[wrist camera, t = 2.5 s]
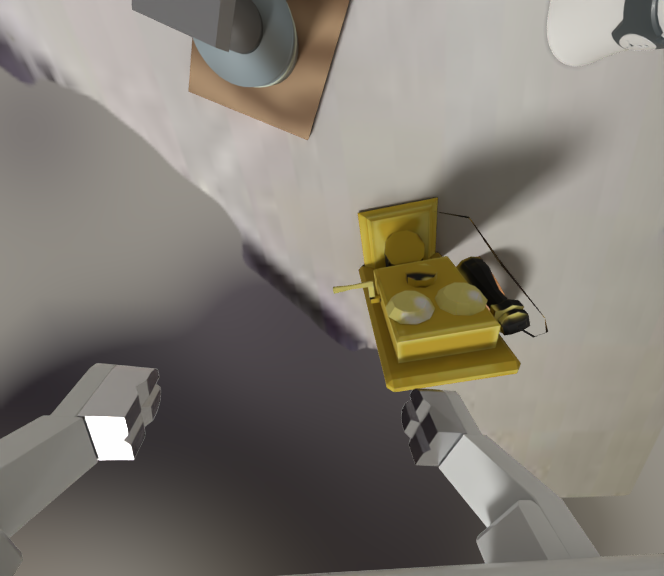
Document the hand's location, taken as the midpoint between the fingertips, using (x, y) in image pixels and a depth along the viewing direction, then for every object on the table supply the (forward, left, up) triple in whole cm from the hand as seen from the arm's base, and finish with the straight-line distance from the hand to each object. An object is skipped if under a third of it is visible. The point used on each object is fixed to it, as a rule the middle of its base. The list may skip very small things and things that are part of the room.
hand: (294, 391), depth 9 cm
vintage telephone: (+10, +24, -47) cm, 53 cm away
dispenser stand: (-11, -9, -46) cm, 49 cm away
